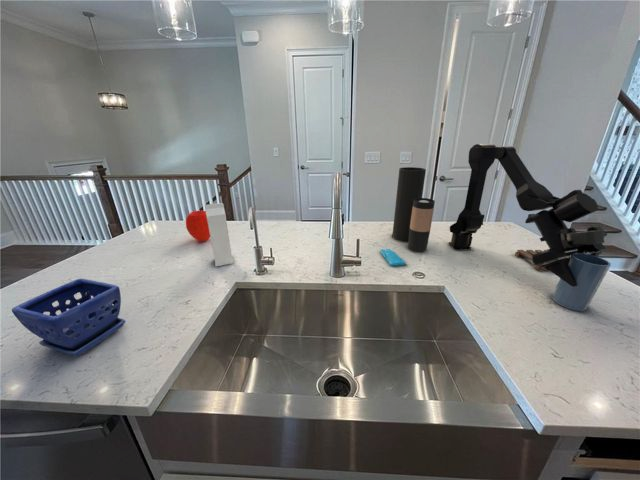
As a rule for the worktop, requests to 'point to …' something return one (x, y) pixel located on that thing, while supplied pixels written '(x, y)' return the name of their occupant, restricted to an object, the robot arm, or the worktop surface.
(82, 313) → the flower pot
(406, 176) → the vase
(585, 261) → the tumbler
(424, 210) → the travel mug
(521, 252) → the drying rack
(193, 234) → the apple
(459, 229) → the robot arm
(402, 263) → the sponge
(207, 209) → the milk
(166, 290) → the worktop surface
